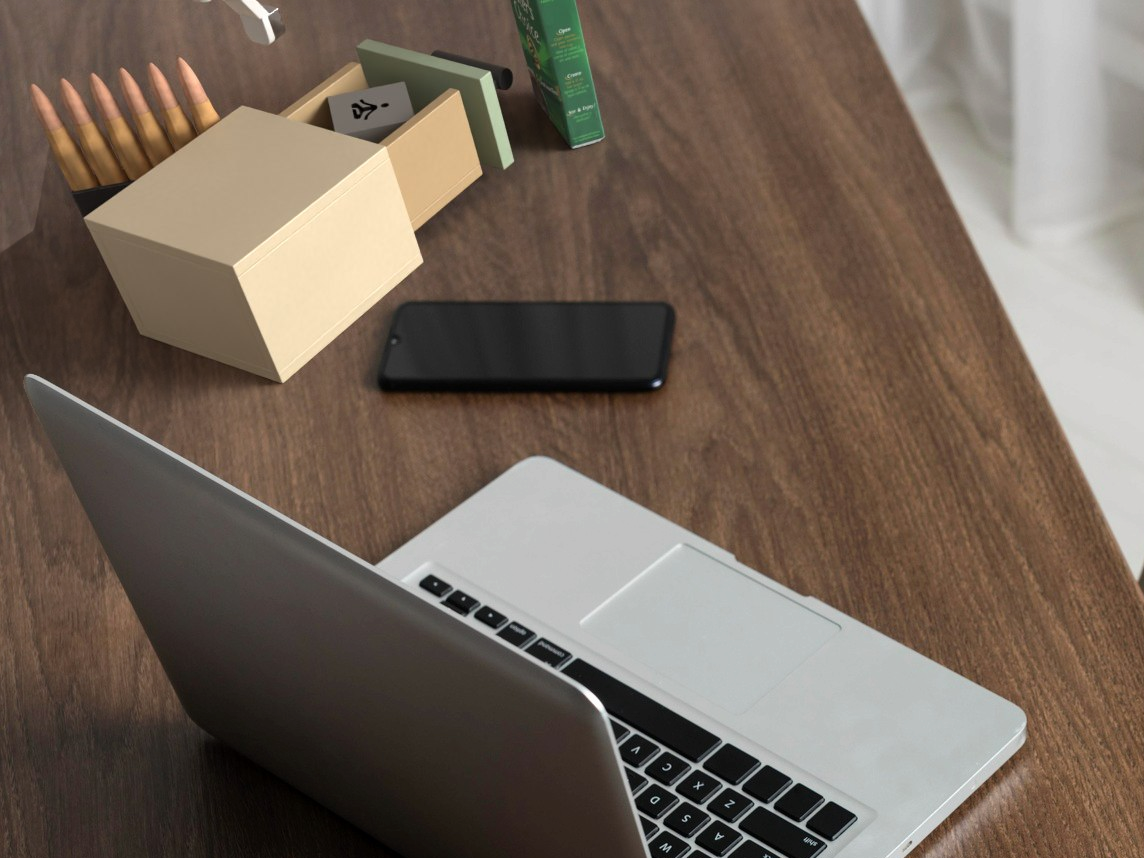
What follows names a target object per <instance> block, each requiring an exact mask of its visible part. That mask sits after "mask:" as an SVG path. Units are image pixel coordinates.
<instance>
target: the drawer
mask: <svg viewBox="0 0 1144 858" xmlns="http://www.w3.org/2000/svg"><path fill="white" fill-rule="evenodd" d="M355 50H356V53H357V56H358V59H359V62H360V63H359V62H355V61H350V62H348V63H347V64H346V65H344V66H343V67H341V68H340V69H339V70H337V71H336V72H335V73H333V74H332V75H331V76H329V77H328V78H326V79H325V80H324V81H322V82H321V83H320V84H318V85H317V86H315V87H314V88H313V89H312V90H310V91H309V92H307V93H306V94H305V95H303V96H302V97H300V98H299V99H298V100H296V101H295V102H293V103H292V104H291V105H289V106H288V107H286V108H285V109H284V110H282V111H281V112H280V113H278V114H277V115H278V116H281V117H285V118H288V119H292V120H295V121H299V122H302V123H306V124H309V125H313V126H316V127H320V128H323V129H327V130H330V131H334V132H335V129H334V125H333V120H332V115H331V111H330V106H329V101H328V97H329V96H334V95H339V94H344V93H349V92H354V91H359V90H364V89H369V88H374V87H379V86H384V85H389V84H394V83H399V82H405V85H406V88H407V91H408V95H409V98H410V101H411V104H412V108H413V111H414V114H415V116H413V117H412V118H411V119H410V120H408V121H407V122H406V123H404V124H403V125H402V126H401V127H399V128H398V129H397V130H395V131H394V132H393V133H392V134H390V135H389V136H388V137H387V138H385V139H384V140H383V141H381V142H380V143H379V145H383V146H385V147H386V149H387V152H388V155H389V158H390V161H391V164H392V167H393V170H394V173H395V176H396V179H397V182H398V185H399V188H400V191H401V194H402V197H403V200H404V204H405V207H406V210H407V213H408V216H409V219H410V222H411V225H412V228H413V231H414V233H415V232H416V231H417V230H418V229H419V228H421V227H422V226H423V225H424V224H426V223H427V222H428V221H429V220H430V219H431V218H433V217H434V216H435V215H436V214H438V212H440V211H441V210H442V209H443V208H444V207H445V206H447V205H448V204H449V203H450V202H451V201H453V200H454V199H455V198H456V197H457V196H458V195H460V194H461V193H462V192H463V191H464V190H465V189H467V188H468V187H469V186H470V185H472V184H473V183H474V182H475V181H476V180H477V179H479V178H480V177H481V176H482V175H483V170H482V167H481V165H485V166H489V167H492V168H495V169H499V170H503V171H505V170H506V169H507V168H509V166H511V165H512V164H513V163H514V162H515V159H514V156H513V152H512V148H511V144H510V140H509V136H508V133H507V129H506V125H505V121H504V118H503V114H502V109H501V106H500V102H499V98H498V95H497V91H496V90H497V89H498V90H501V91H508V90H510V89H511V87H512V85H513V82H514V73H513V71H512V70H511V69H510V68H508V67H506V66H501V65H497V64H493V63H491V62H486V61H481V60H478V59H475V58H470V57H467V56H463V55H460V54H456V53H452V52H447V51H445V50H440V49H435V50H434V51H432V53H431V54H426V53H422V52H419V51H414V50H412V49H411V50H410V49H407V48H403V47H399V46H397V45H396V46H395V45H392V44H388V43H384V42H380V41H376V40H372V39H369V38H366V39H365V40H363V41H361V42H360V43H358V44H357V45H356V46H355Z"/></svg>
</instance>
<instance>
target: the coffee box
mask: <svg viewBox="0 0 1144 858" xmlns="http://www.w3.org/2000/svg"><path fill="white" fill-rule="evenodd" d="M509 1H510V4H511V8H512V13H513V17H514V20H515V25H516V28H517V32H518V36H519V40H520V43H521V48H522V51H523V55H524V59H525V62H526V68H527V71H528V75H529V78H530V82H531V87H532V90H533V93H534V98H535V101H536V102H537V103H538V104H539V106H540V107H541V109H542V111H544V113H545V115H546V116H547V117H548V118H549V120H550V121H551V123H552V125H554V127H555V128H556V130H557V131H558V132H559V133H560V136H561V137H562V138H563V140H565V142H566V143H567V145H568V146H569V148H571V149H578V148H582V147H585V146H589V145H593V144H595V143H598V142H599V143H600V142H601V140H603V139H605V137H606V134H605V129H604V125H603V121H602V116H601V112H600V108H599V102H598V98H597V93H596V89H595V88H596V87H595V83H594V80H593V75H592V71H591V66H590V62H589V57H588V53H587V47H586V44H585V38H584V34H583V30H582V25H581V20H580V15H579V11H578V7H577V2H576V1H577V0H509Z"/></svg>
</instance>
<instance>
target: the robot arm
mask: <svg viewBox="0 0 1144 858" xmlns="http://www.w3.org/2000/svg"><path fill="white" fill-rule="evenodd" d="M190 1H192V2H196V3H201V4H202V3H203V4H205V3H209V2H211V1H212V0H190ZM221 1H222V2H223V3H224V4H226V6H227V7H229V8H230V9H231V10H232V11H233V12H235V13H236V14H238V16H239V18H240V21H241V25H242V26H243V29H244V32H245V35H246V36H247V37H248V39H249V40H250V41H252V43H257V44H260V45H262V46H269V45H271V44H272V43H273V42H276V41H277V40H278V39H280V38H281V37H283V36H284V35H285V34H286V31H287V30H286V26H285V25H284V24H283V23H282V21H283V18H282V14H281V12H280V9H279V7H276V6H273V5H265V4H264V3H261V2H259V1H258V0H221Z"/></svg>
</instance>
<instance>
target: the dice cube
mask: <svg viewBox="0 0 1144 858" xmlns="http://www.w3.org/2000/svg"><path fill="white" fill-rule="evenodd" d="M328 101H329V106H330V111H331V115H332V120H333V125H334V129H335V132H337V133H341V134H344V135H348V136H351V137H355V138H358V139H362V140H365V141H369V142H372V143H376V144H379V143H380V142H381V141H383V140H384V139H385V138H387V137H388V136H389V135H390V134H392V133H393V132H394V131H395V130H397V129H398V128H399V127H401V126H402V125H403V124H404V123H406V122H407V121H408V120H410V119H411V118H412V117H413V116H415V114H414V111H413V108H412V104H411V101H410V98H409V95H408V91H407V88H406V85H405V82H399V83H394V84H389V85H384V86H379V87H374V88H369V87H368V89H364V90H359V91H354V92H349V93H344V94H339V95H334V96H329V97H328Z"/></svg>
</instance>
